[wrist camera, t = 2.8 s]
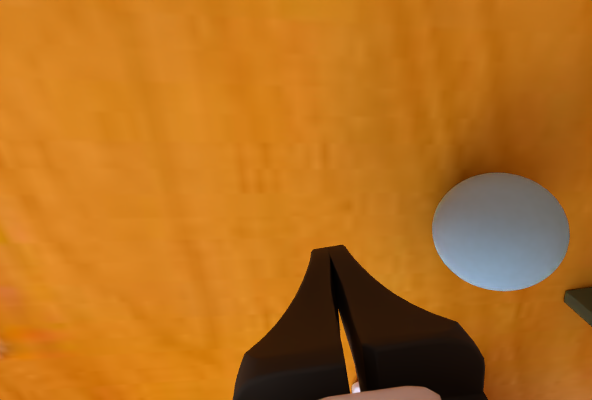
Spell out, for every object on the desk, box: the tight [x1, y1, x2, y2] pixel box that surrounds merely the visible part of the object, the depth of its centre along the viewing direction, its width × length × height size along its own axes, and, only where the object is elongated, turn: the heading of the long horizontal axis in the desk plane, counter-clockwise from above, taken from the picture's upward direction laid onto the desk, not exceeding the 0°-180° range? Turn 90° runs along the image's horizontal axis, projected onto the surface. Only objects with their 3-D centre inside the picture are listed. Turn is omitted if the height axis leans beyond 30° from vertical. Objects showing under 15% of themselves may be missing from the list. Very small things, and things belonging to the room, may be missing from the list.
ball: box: [432, 173, 570, 291], centre depth 15 cm, size 5×5×5 cm
